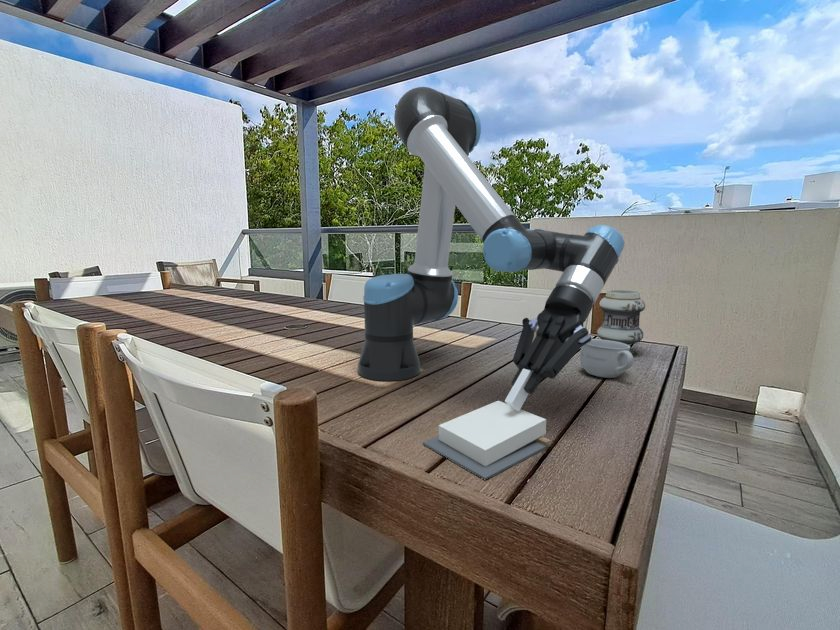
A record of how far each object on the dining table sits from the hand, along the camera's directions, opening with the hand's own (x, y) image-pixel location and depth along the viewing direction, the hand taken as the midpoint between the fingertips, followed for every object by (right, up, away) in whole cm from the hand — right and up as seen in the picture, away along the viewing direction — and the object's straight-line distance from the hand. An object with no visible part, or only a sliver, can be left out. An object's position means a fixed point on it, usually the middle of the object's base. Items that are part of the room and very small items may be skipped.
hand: (511, 406), depth 68 cm
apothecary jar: (+43, +4, +53) cm, 68 cm away
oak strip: (+1, -5, +2) cm, 5 cm away
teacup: (+29, 0, +31) cm, 43 cm away
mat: (-5, -6, -3) cm, 8 cm away
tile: (+2, -2, +2) cm, 4 cm away
